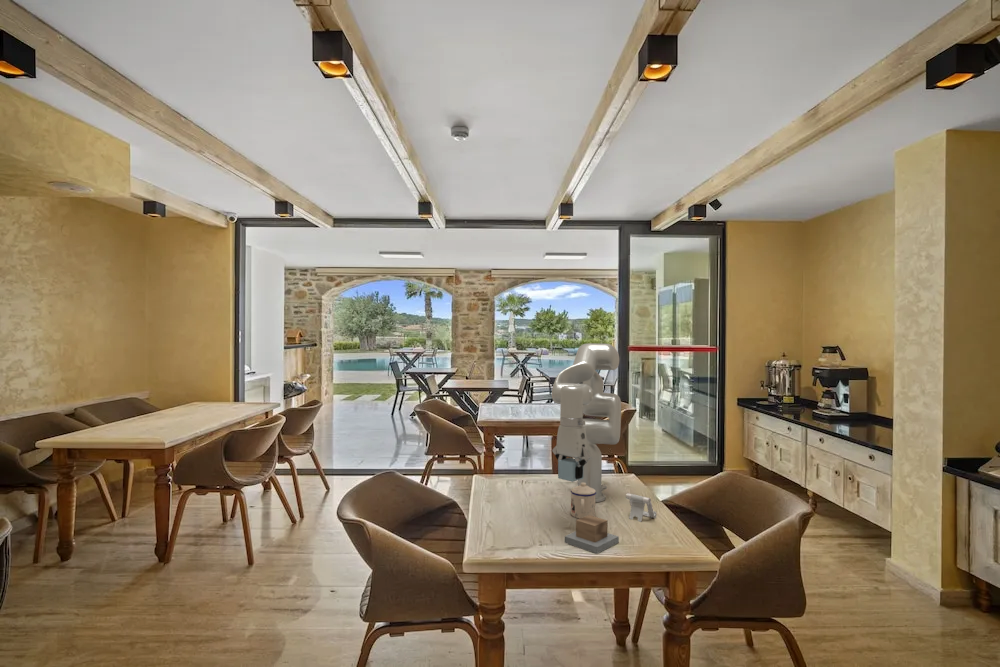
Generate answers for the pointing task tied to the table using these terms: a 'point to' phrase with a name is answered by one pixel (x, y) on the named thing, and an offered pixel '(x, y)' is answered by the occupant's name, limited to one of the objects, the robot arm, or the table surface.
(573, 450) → the robot arm
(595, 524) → the walnut block
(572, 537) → the slate base
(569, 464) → the cube
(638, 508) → the portable electronic device stand
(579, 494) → the teacup with lid
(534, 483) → the table surface
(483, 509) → the table surface
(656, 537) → the table surface
